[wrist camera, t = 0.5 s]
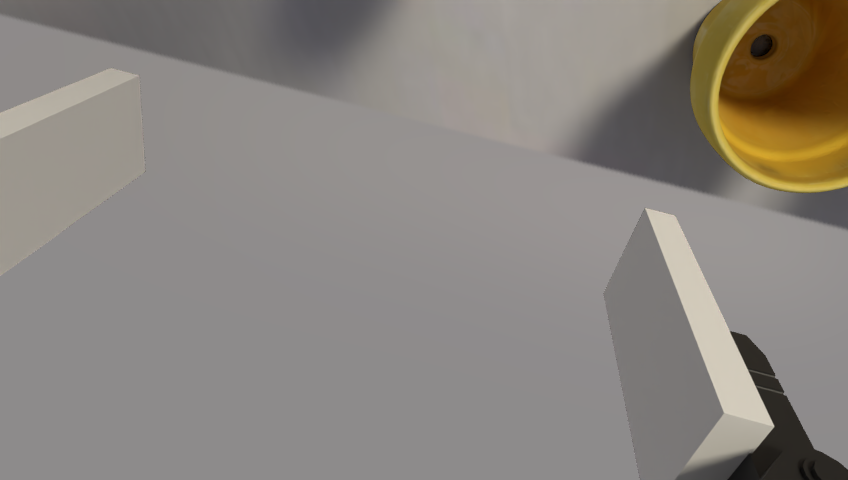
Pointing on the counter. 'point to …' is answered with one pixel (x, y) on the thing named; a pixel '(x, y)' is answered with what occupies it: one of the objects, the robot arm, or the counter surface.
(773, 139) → the plant pot
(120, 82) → the robot arm
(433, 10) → the counter surface
